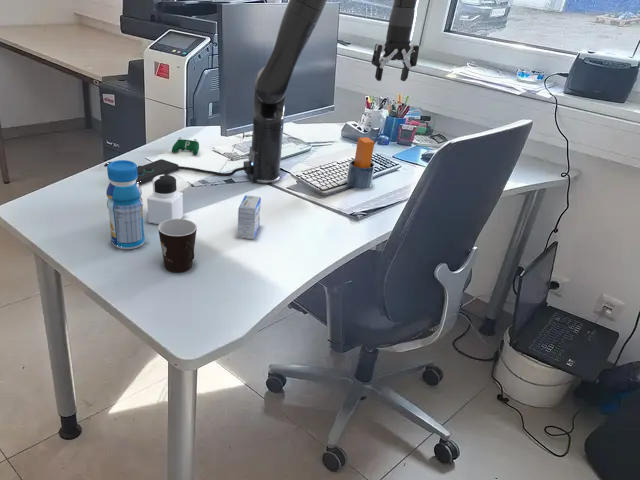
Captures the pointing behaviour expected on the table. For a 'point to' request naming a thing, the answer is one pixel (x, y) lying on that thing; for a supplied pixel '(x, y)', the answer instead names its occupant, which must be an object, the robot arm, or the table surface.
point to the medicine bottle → (164, 200)
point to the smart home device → (155, 170)
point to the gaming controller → (186, 145)
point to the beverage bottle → (125, 205)
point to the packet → (364, 152)
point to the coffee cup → (360, 176)
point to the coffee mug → (177, 244)
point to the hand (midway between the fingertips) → (390, 80)
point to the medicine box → (249, 217)
